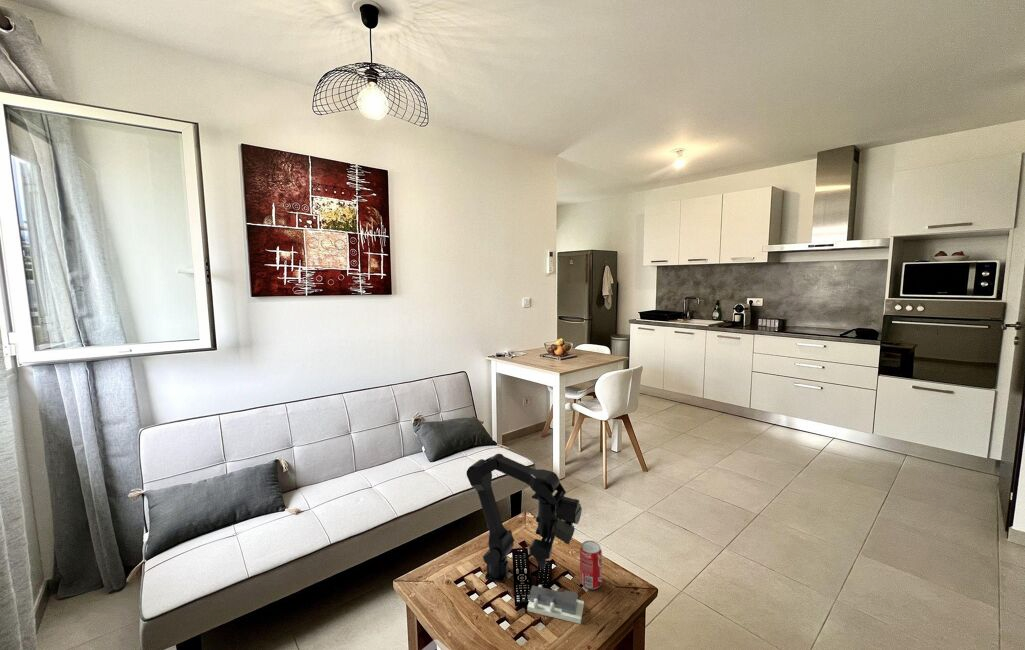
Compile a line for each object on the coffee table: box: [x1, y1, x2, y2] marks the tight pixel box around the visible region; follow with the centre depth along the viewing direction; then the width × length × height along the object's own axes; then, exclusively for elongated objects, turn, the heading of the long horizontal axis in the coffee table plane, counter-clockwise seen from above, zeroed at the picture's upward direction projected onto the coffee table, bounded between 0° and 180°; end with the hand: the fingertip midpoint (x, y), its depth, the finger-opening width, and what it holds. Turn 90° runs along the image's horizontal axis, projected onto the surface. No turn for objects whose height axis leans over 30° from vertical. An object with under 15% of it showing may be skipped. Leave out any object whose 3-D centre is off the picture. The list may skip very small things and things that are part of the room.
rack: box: [526, 584, 585, 625], centre depth 124 cm, size 16×7×4 cm, turn 73°
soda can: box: [579, 540, 603, 591], centre depth 134 cm, size 7×7×13 cm
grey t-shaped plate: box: [529, 585, 579, 615], centre depth 125 cm, size 14×5×3 cm, turn 73°
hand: (546, 559), depth 129 cm, fingers open, 9 cm apart
